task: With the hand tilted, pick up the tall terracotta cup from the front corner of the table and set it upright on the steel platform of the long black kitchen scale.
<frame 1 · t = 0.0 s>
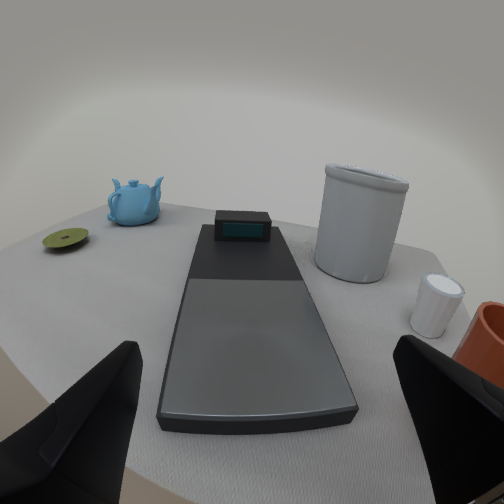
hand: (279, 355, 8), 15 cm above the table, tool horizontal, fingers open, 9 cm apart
cup: (443, 420, 17), on the table
scale: (241, 251, 51), on the table
utensil holder: (350, 266, 48), on the table
mat: (66, 245, 49), on the table
teapot: (138, 219, 66), on the table
shot glass: (425, 327, 32), on the table
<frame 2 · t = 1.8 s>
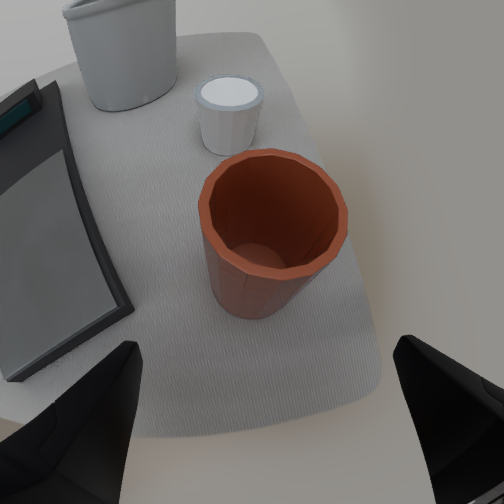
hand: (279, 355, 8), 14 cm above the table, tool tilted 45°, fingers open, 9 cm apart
cup: (251, 278, 23), on the table
scale: (23, 133, 28), on the table
utensil holder: (135, 86, 33), on the table
shot glass: (227, 139, 29), on the table
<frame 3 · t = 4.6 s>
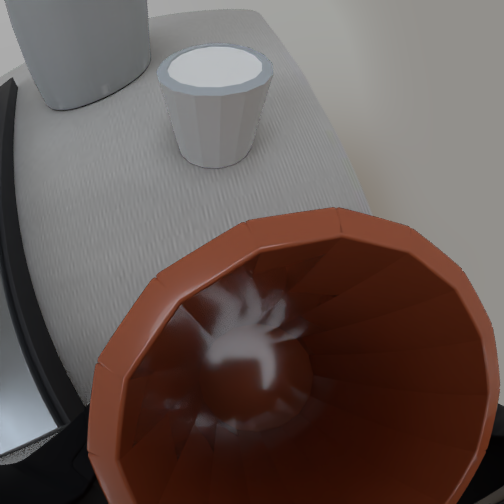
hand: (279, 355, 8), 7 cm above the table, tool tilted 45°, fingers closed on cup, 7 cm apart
cup: (256, 378, 14), on the table, touching gripper
utensil holder: (98, 75, 23), on the table
shot glass: (215, 142, 19), on the table
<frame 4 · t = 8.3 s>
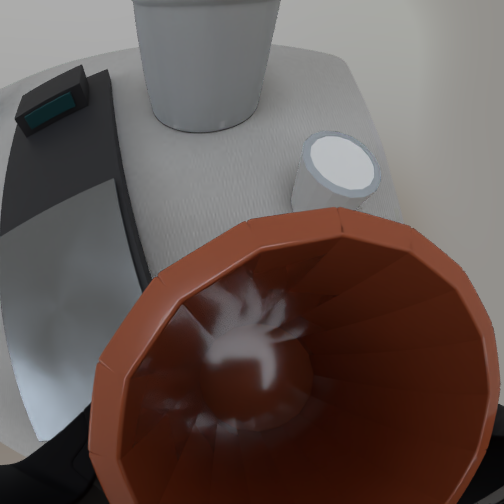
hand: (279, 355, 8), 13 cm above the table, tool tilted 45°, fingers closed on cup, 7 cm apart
cup: (256, 378, 14), point 7 cm above the table, touching gripper
scale: (62, 128, 27), on the table
utensil holder: (207, 99, 31), on the table
shot glass: (317, 204, 26), on the table
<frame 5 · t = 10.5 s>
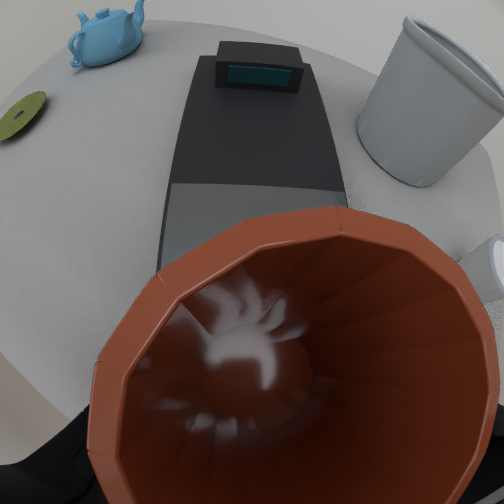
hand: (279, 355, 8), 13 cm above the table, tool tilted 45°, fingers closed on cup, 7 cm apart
cup: (256, 377, 14), point 7 cm above the table, touching gripper
scale: (254, 99, 31), on the table
utensil holder: (400, 148, 31), on the table
mat: (23, 122, 28), on the table
teapot: (115, 51, 35), on the table
shot glass: (464, 283, 25), on the table
when the fingers open (10 cm above the table, at t = 12.2 s): cup stays where it is, resting on scale.
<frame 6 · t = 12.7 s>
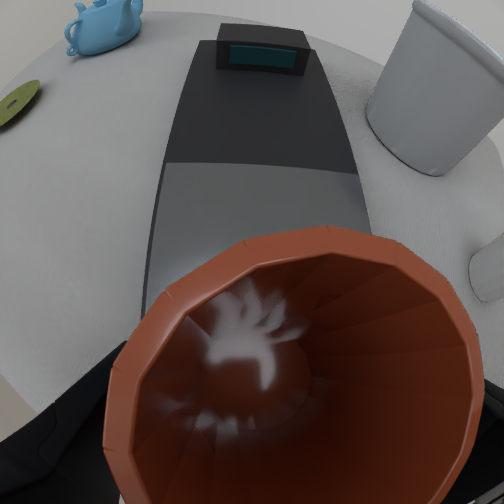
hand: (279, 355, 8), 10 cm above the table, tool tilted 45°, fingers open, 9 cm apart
cup: (255, 378, 14), point 3 cm above the table, touching scale
scale: (257, 82, 28), on the table
utensil holder: (411, 136, 28), on the table
mat: (16, 111, 25), on the table
teapot: (113, 40, 33), on the table
shot glass: (481, 278, 22), on the table
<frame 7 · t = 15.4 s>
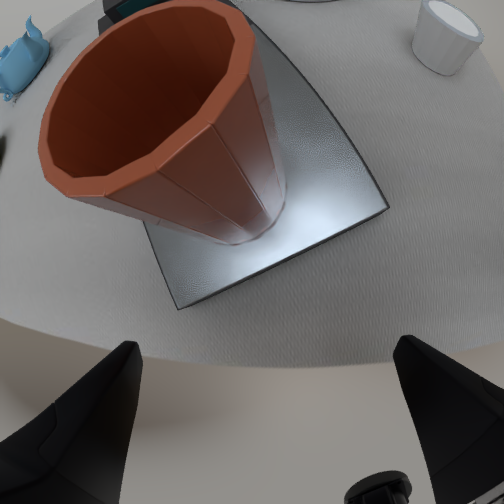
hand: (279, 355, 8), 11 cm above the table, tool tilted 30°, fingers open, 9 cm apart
cup: (230, 189, 17), point 3 cm above the table, touching scale
scale: (157, 17, 24), on the table
teapot: (34, 67, 30), on the table
shot glass: (433, 57, 18), on the table
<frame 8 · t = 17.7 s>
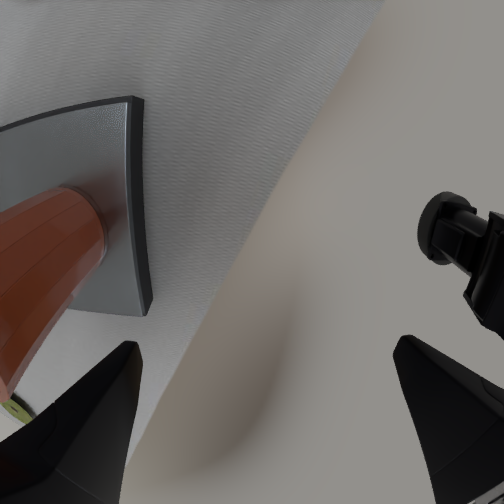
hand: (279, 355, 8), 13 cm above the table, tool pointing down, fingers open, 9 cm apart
cup: (64, 235, 16), point 3 cm above the table, touching scale
mat: (17, 402, 31), on the table
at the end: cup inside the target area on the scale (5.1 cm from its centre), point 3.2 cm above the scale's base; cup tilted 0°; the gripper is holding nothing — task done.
